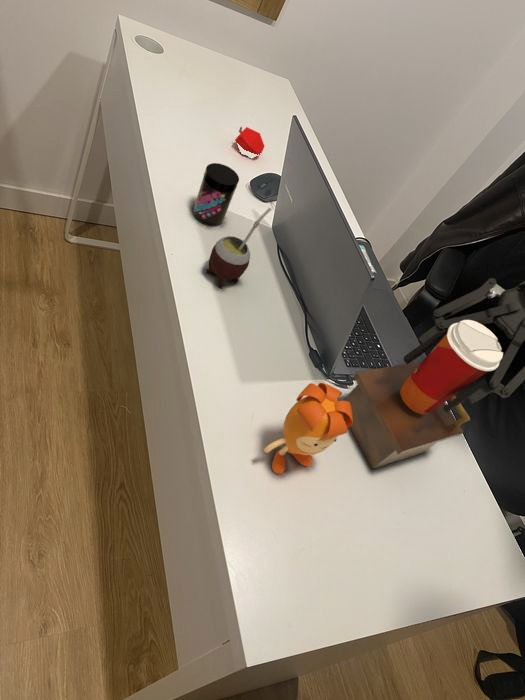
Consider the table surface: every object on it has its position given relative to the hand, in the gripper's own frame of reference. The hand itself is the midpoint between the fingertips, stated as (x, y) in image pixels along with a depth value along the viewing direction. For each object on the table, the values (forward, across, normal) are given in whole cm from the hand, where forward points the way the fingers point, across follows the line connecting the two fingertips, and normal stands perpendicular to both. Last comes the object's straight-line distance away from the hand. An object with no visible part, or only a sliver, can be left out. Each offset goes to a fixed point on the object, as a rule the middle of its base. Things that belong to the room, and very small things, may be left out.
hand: (425, 384), depth 72 cm
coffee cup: (+2, 0, -6) cm, 7 cm away
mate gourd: (+16, +39, -7) cm, 43 cm away
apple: (-5, +76, -28) cm, 81 cm away
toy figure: (+23, +4, 0) cm, 23 cm away
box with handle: (+9, 0, -14) cm, 16 cm away
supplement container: (+12, +55, -11) cm, 58 cm away
